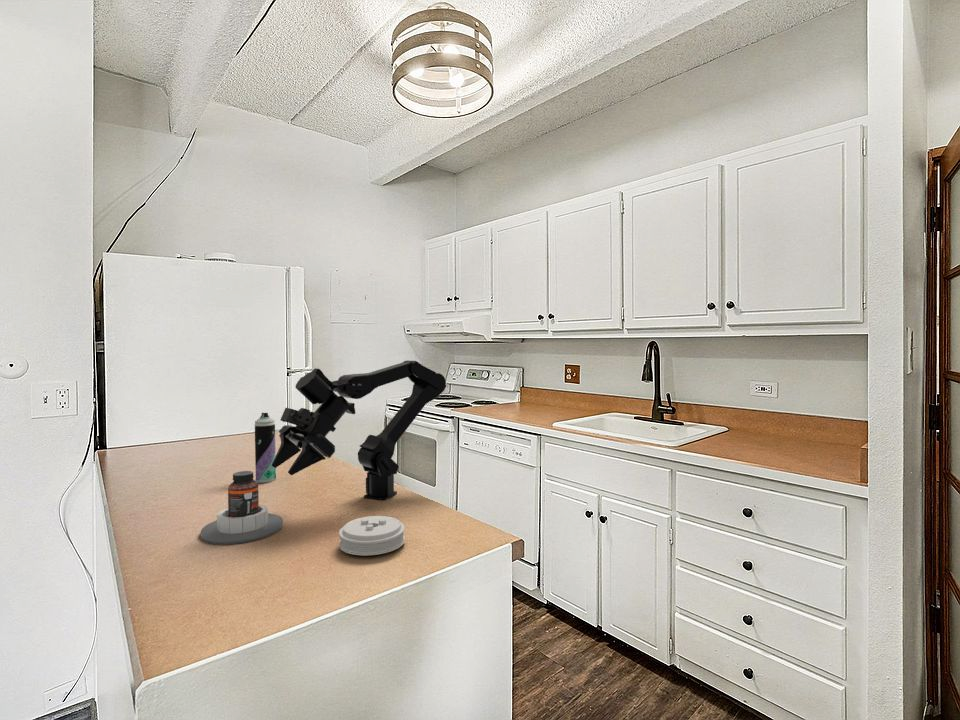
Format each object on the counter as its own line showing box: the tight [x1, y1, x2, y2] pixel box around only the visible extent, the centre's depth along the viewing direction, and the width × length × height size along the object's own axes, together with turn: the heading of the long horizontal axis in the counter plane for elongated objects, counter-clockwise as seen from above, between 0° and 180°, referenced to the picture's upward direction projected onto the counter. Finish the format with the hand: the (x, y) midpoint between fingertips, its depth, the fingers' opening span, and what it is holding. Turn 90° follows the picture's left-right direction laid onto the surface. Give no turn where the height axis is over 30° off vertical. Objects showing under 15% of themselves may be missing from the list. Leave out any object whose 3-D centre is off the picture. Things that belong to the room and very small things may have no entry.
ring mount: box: [200, 504, 284, 546], centre depth 109 cm, size 16×16×4 cm
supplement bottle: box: [227, 470, 260, 518], centre depth 109 cm, size 6×6×11 cm
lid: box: [338, 515, 406, 556], centre depth 100 cm, size 13×13×5 cm
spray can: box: [254, 412, 277, 484], centre depth 148 cm, size 6×6×20 cm
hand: (281, 470), depth 114 cm, fingers open, 9 cm apart
